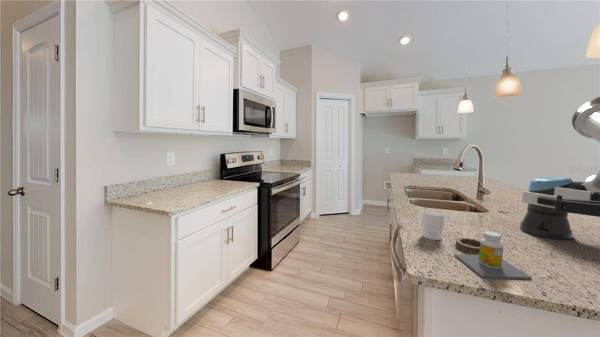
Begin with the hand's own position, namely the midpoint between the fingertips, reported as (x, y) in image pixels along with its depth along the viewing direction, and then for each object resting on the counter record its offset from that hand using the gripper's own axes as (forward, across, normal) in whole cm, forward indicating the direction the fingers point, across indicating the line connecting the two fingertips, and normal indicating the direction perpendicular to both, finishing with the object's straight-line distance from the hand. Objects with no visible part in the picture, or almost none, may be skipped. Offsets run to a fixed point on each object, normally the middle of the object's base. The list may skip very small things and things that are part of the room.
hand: (539, 194), depth 62 cm
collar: (+19, +4, -24) cm, 31 cm away
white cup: (+32, 0, -24) cm, 40 cm away
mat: (+8, -4, -24) cm, 25 cm away
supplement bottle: (+8, -4, -23) cm, 25 cm away
